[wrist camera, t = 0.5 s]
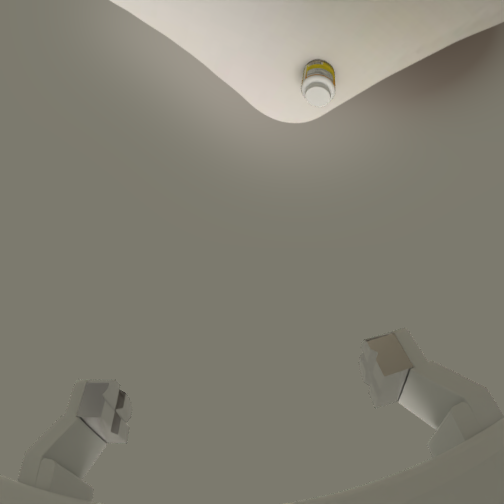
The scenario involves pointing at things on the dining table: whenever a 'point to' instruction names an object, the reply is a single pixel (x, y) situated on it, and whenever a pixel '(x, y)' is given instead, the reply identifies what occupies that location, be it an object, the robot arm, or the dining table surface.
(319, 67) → the supplement bottle
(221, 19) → the dining table surface
